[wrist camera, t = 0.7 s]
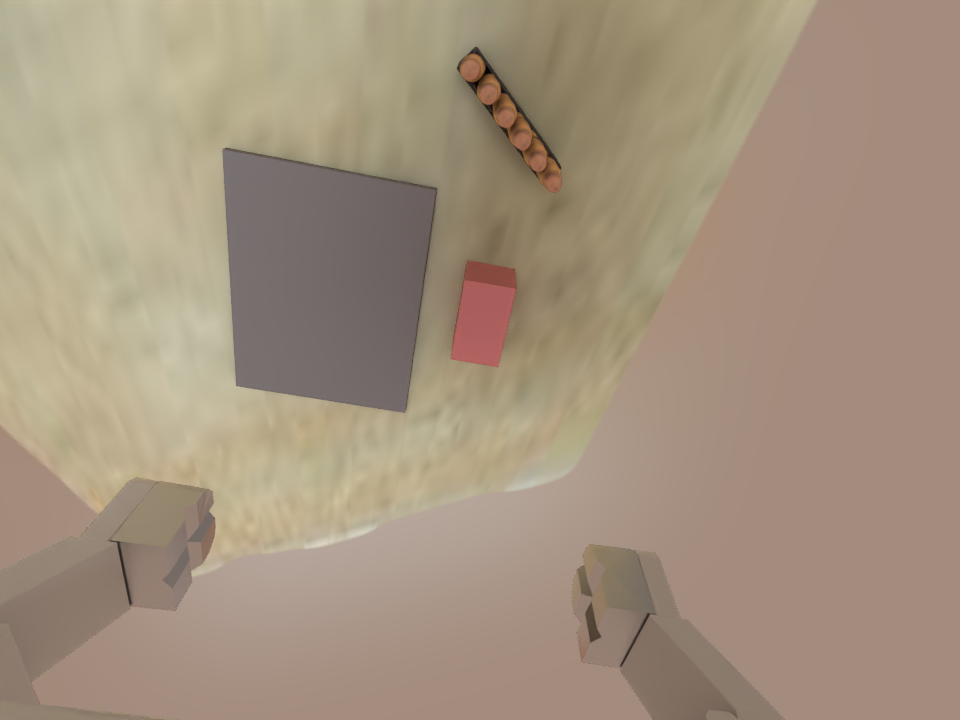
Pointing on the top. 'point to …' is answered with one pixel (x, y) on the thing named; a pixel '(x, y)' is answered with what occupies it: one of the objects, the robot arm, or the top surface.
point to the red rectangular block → (483, 313)
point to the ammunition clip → (511, 119)
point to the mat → (324, 278)
